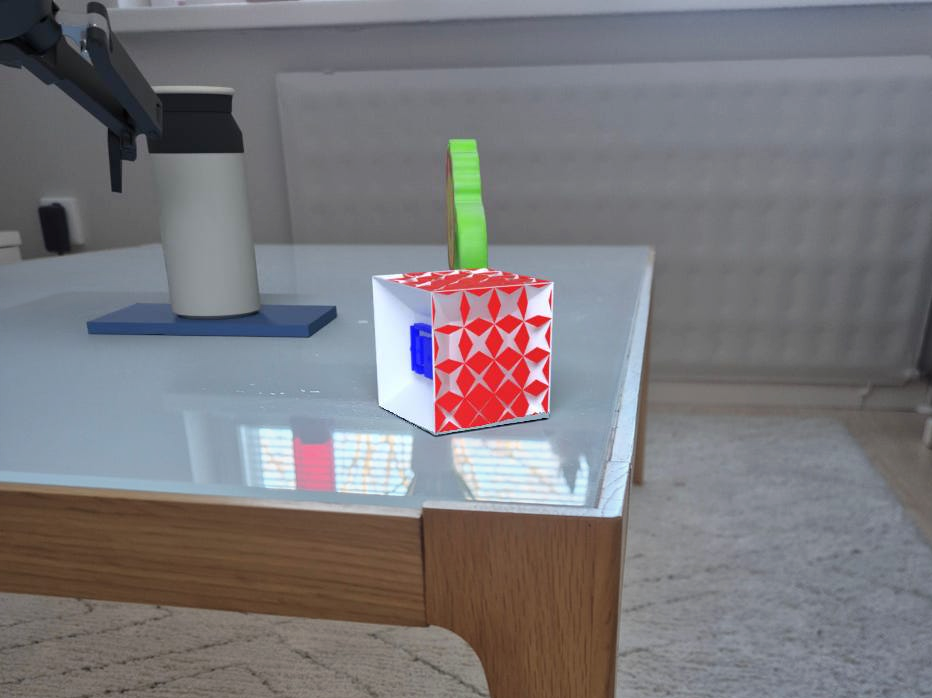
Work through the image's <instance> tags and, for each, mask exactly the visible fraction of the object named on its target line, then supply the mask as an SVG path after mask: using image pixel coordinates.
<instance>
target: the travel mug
mask: <svg viewBox="0 0 932 698" xmlns="http://www.w3.org/2000/svg"><path fill="white" fill-rule="evenodd" d="M150 86H151V85H150ZM151 88H152V89H153V91H154V92H155V93H156V95H157V96H158V98H159V99H160V101H161V102H162V138H161V139H158V140H153V139H150V138H148V137H147V136H145V138H146V140H145V141H146V146H147V152H148V159H149V166H150V173H151V180H152V185H153V192H154V200H155V205H156V212H157V220H158V226H159V233H160V240H161V246H162V247H161V248H162V252H163V259H164V267H165V273H166V274H165V275H166V281H167V286H168V287H167V288H168V294H169V300H170V304H171V307H172V312H173V313H175V314H177V315H179V316H181V317H184V318H189V319H227V318H237V317H243V316H248V315H251V314H254V313H255V312H257V311H258V310H259V309H260V308H261V305H262V303H261V296H260V286H259V277H258V268H257V267H258V266H257V259H256V250H255V241H254V229H253V222H252V213H251V212H252V211H251V201H250V194H249V193H250V192H249V183H248V173H247V165H246V164H247V163H246V156H245V146H244V145H245V144H244V138H243V137H244V136H243V132H242V130H241V128H240V126H239V124H238V123H237V121H236V119H235V118H234V116H233V114H232V113H233V98H234V96H235V94H236V90H235V89H234V88H233V87H228V86H227V87H226V86H225V87H224V86H211V85H206V86H205V85H156V86H155V85H154V86H153V85H152V86H151Z"/></svg>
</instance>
